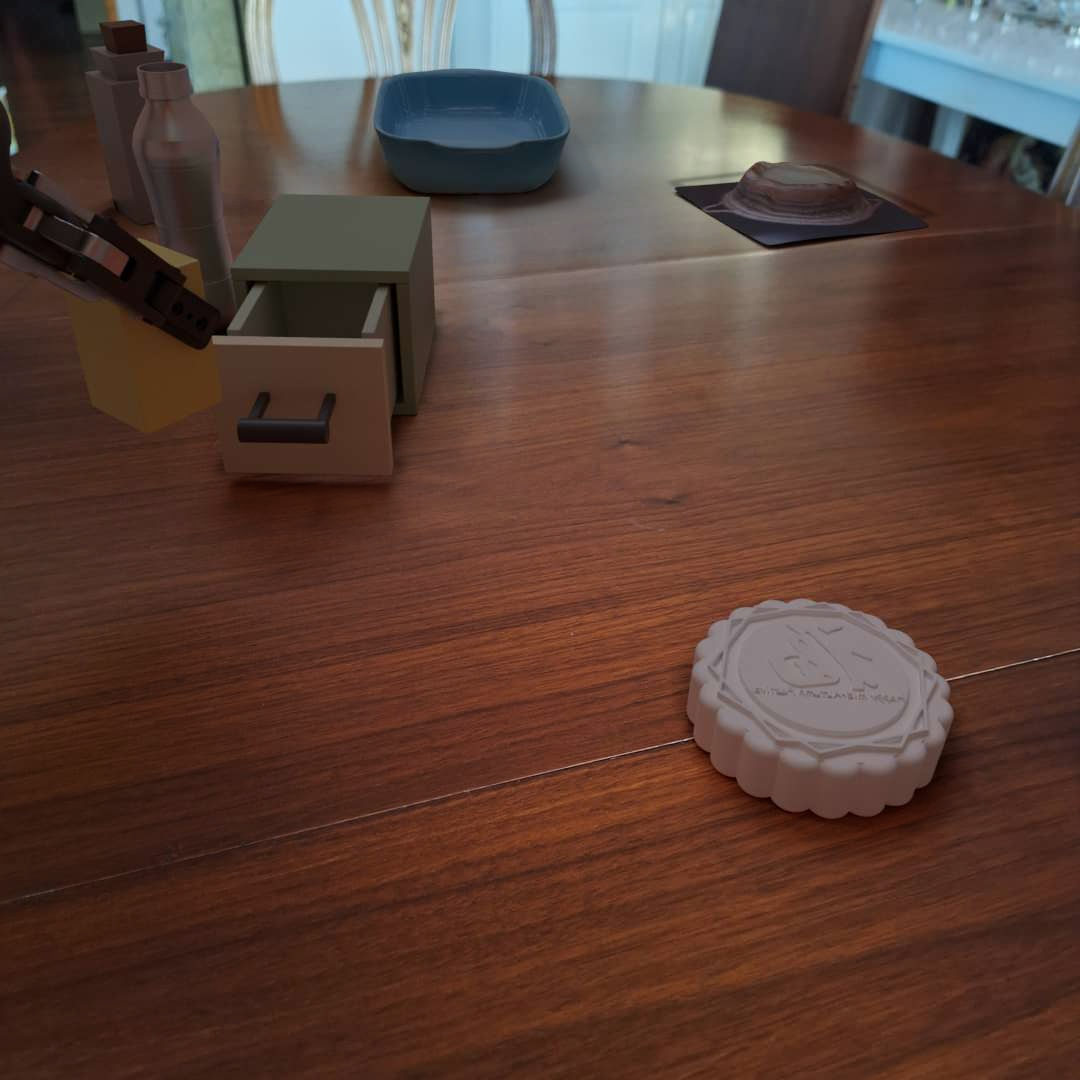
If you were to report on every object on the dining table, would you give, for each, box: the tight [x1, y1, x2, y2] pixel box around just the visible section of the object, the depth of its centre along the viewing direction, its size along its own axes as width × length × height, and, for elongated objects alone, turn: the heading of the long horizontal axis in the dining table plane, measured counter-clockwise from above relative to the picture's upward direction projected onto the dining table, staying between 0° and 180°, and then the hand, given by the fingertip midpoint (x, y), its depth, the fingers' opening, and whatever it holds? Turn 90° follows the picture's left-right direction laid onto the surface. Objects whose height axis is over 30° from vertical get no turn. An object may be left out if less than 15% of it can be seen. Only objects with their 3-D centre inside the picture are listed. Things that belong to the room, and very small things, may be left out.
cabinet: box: [230, 193, 437, 416], centre depth 78 cm, size 16×12×11 cm
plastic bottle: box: [132, 61, 237, 332], centre depth 81 cm, size 6×7×20 cm
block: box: [58, 237, 223, 435], centre depth 51 cm, size 5×5×8 cm
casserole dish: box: [373, 68, 571, 195], centre depth 125 cm, size 37×22×7 cm, turn 5°
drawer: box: [212, 281, 402, 476], centre depth 67 cm, size 20×11×9 cm, turn 0°
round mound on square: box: [674, 160, 930, 246], centre depth 114 cm, size 21×20×4 cm
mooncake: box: [686, 598, 955, 820], centre depth 49 cm, size 12×12×4 cm
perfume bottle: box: [84, 19, 165, 226], centre depth 105 cm, size 7×7×18 cm
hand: (174, 316), depth 52 cm, fingers closed on block, 4 cm apart
